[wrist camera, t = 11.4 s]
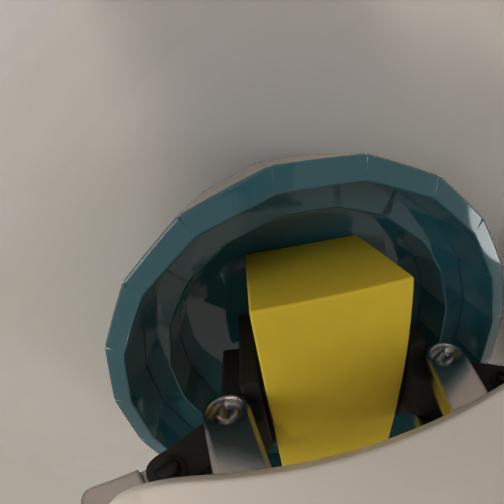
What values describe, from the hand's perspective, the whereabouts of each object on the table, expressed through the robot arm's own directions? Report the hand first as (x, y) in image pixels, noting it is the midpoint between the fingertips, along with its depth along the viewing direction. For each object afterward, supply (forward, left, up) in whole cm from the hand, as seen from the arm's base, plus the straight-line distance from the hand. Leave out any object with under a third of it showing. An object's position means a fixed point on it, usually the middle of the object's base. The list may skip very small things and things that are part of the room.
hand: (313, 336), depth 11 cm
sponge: (0, 0, 0) cm, 0 cm away
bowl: (0, 0, -1) cm, 1 cm away
